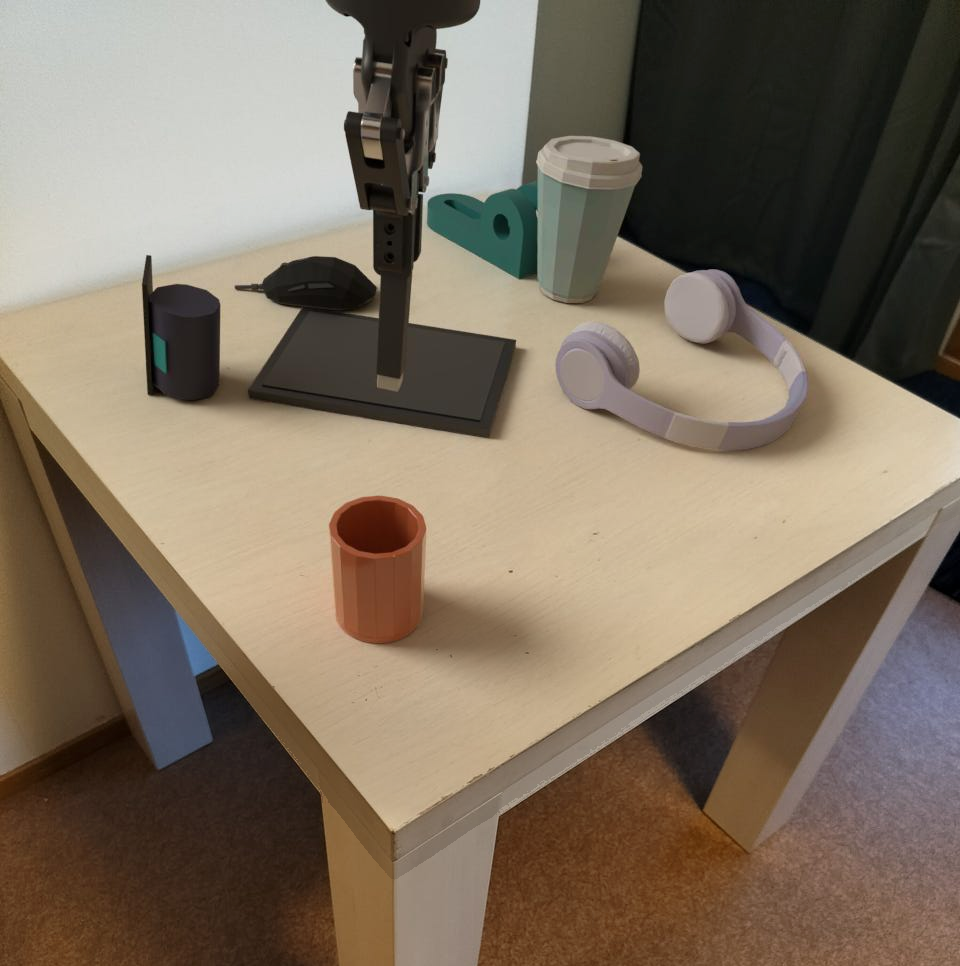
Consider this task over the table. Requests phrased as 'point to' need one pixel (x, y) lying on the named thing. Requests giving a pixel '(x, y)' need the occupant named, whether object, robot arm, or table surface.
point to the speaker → (180, 338)
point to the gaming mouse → (317, 284)
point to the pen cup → (378, 568)
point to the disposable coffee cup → (581, 211)
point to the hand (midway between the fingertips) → (397, 265)
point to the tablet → (353, 380)
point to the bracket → (492, 226)
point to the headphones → (698, 318)
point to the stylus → (393, 327)
